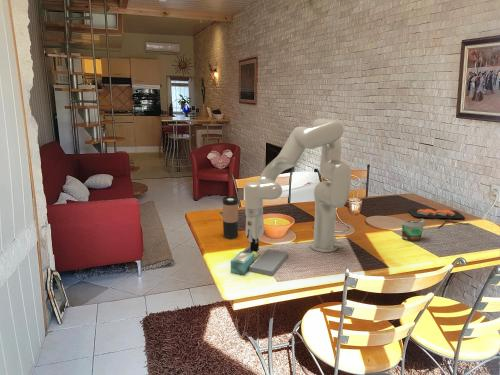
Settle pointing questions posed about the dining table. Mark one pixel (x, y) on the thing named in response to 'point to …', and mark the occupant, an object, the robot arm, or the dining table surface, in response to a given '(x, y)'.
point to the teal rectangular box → (242, 263)
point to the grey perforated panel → (267, 261)
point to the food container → (412, 230)
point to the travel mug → (230, 217)
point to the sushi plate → (437, 214)
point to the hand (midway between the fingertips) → (254, 250)
